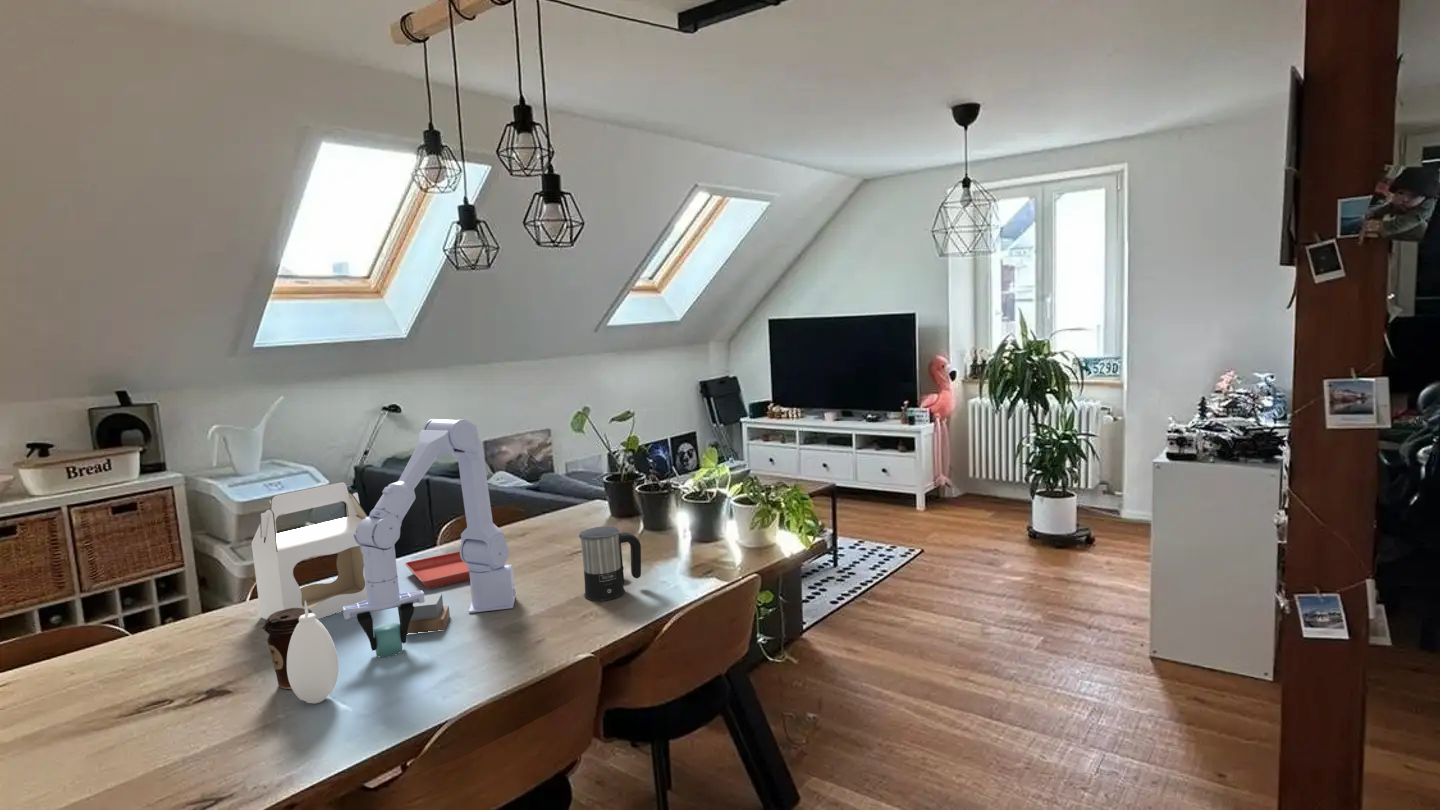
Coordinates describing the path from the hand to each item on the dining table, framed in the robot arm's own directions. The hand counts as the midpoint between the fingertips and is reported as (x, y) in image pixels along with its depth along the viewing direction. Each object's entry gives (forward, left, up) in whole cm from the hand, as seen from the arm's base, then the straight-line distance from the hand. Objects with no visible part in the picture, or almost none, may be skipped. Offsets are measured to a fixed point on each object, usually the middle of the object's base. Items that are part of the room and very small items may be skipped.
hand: (388, 645), depth 155 cm
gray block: (-5, -12, +1) cm, 13 cm away
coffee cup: (+14, +9, -2) cm, 17 cm away
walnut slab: (-5, -12, -2) cm, 13 cm away
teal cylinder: (0, 0, -2) cm, 2 cm away
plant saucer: (-5, -46, -2) cm, 46 cm away
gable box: (+21, -31, -2) cm, 38 cm away
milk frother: (-43, -23, -2) cm, 49 cm away
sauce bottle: (+8, +18, -2) cm, 20 cm away
